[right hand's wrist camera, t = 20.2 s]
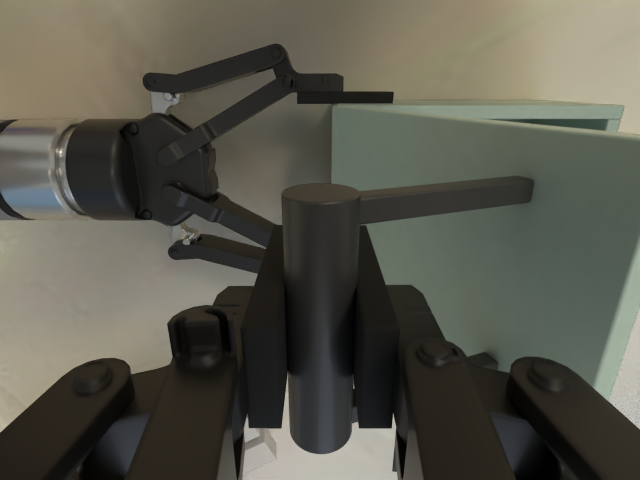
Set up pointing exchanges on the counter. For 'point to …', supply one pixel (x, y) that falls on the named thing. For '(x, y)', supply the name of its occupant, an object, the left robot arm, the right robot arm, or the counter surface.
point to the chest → (515, 111)
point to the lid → (462, 249)
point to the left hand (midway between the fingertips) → (385, 171)
